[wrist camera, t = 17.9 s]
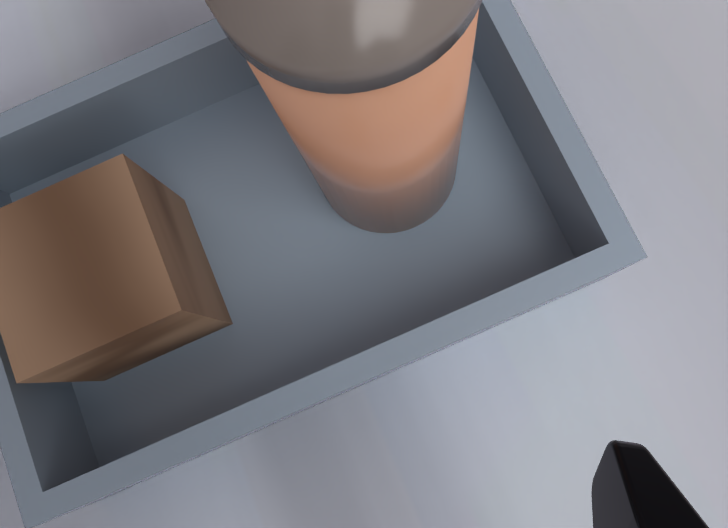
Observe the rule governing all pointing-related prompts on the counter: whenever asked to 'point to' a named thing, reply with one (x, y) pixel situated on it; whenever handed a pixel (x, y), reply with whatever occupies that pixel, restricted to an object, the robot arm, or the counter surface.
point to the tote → (295, 253)
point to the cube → (102, 276)
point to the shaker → (365, 95)
